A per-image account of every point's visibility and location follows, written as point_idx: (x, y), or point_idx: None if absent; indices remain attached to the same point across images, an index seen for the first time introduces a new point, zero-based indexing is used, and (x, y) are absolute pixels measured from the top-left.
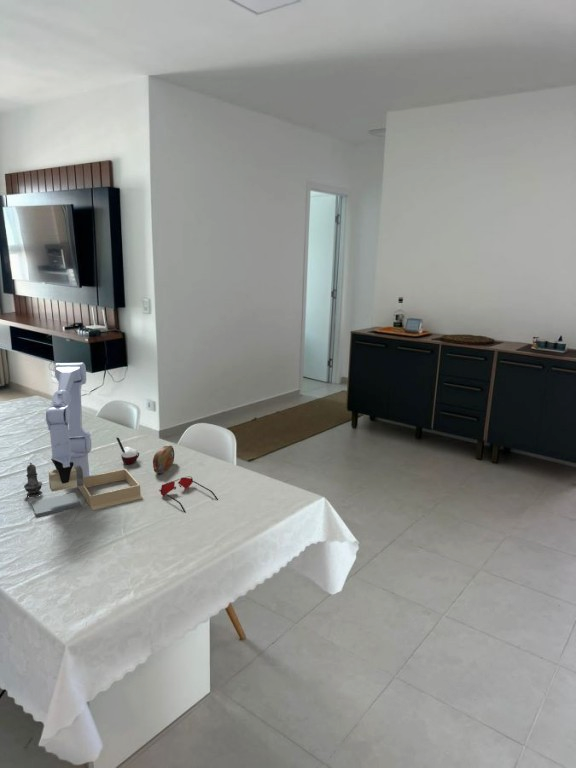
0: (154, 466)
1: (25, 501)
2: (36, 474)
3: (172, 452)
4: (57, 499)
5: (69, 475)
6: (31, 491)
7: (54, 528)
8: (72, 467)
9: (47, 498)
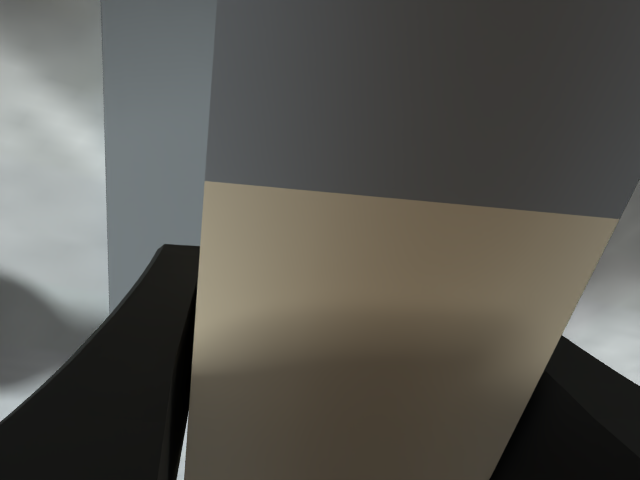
0: None
1: (18, 388)
2: None
3: None
4: (198, 207)
5: (564, 347)
6: None
7: (609, 315)
8: (288, 242)
9: (113, 274)
